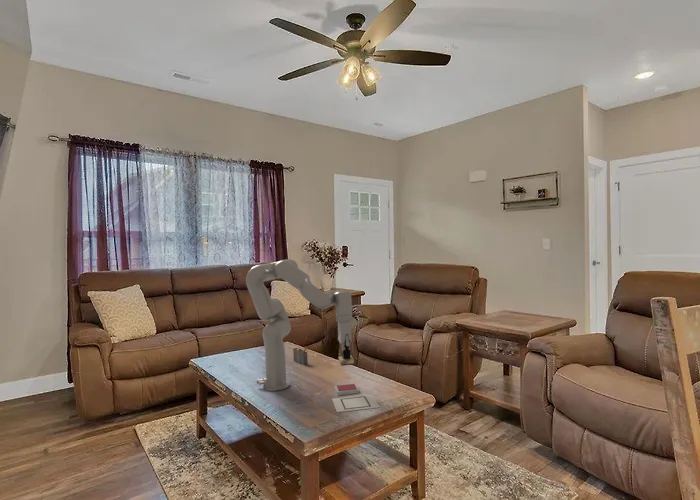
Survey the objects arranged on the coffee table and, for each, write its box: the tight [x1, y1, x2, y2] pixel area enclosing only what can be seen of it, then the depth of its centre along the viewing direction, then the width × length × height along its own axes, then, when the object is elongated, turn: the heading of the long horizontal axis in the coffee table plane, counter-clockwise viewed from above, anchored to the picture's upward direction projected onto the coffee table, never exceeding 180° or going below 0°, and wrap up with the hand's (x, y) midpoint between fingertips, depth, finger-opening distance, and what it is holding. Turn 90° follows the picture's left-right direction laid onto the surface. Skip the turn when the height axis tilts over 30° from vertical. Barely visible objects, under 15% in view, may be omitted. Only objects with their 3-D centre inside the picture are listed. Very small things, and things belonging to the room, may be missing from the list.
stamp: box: [338, 342, 355, 367], centre depth 185 cm, size 6×6×10 cm
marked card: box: [331, 393, 380, 414], centre depth 171 cm, size 18×14×1 cm
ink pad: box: [334, 383, 360, 396], centre depth 186 cm, size 10×8×2 cm
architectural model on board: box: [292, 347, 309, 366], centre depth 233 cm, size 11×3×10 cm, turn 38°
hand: (346, 356), depth 186 cm, fingers closed on stamp, 3 cm apart
